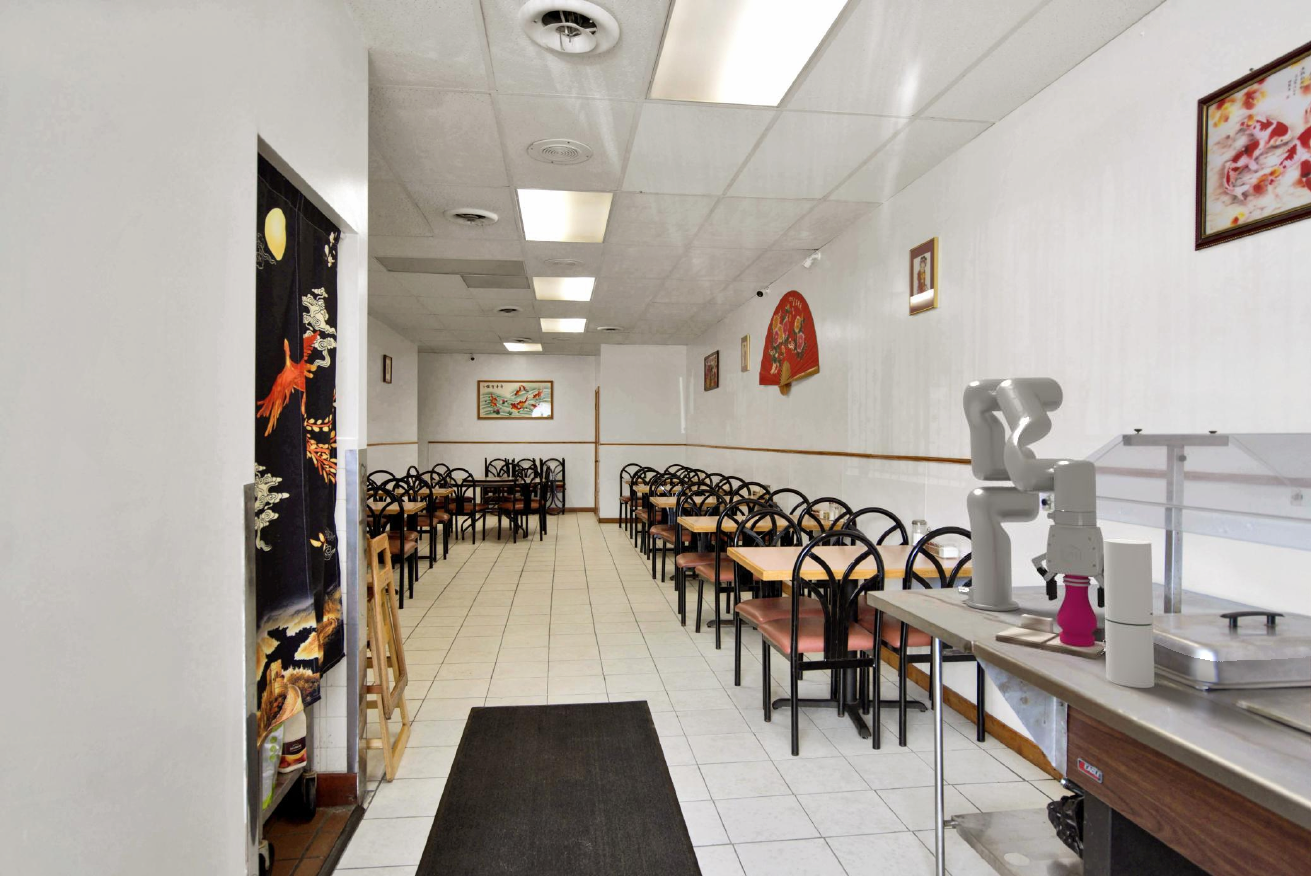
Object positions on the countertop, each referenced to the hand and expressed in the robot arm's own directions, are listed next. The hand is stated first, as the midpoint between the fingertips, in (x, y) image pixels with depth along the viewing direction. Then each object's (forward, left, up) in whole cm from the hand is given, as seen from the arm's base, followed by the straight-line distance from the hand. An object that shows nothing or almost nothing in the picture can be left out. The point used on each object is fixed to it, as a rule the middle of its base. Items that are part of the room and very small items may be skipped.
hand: (1076, 602), depth 145 cm
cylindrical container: (+13, -15, -10) cm, 22 cm away
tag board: (-5, +1, -10) cm, 11 cm away
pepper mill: (0, 0, -9) cm, 9 cm away
